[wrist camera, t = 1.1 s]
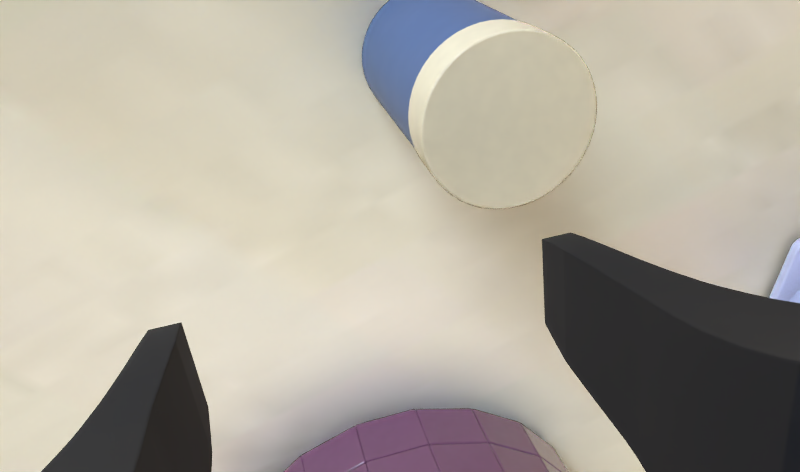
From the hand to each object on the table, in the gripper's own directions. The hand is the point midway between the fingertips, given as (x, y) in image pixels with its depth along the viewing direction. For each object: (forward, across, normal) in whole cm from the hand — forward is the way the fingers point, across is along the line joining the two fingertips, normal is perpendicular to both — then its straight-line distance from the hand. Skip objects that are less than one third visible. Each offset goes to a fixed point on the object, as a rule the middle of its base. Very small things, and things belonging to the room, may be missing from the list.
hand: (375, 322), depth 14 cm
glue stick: (+10, -4, -2) cm, 11 cm away
